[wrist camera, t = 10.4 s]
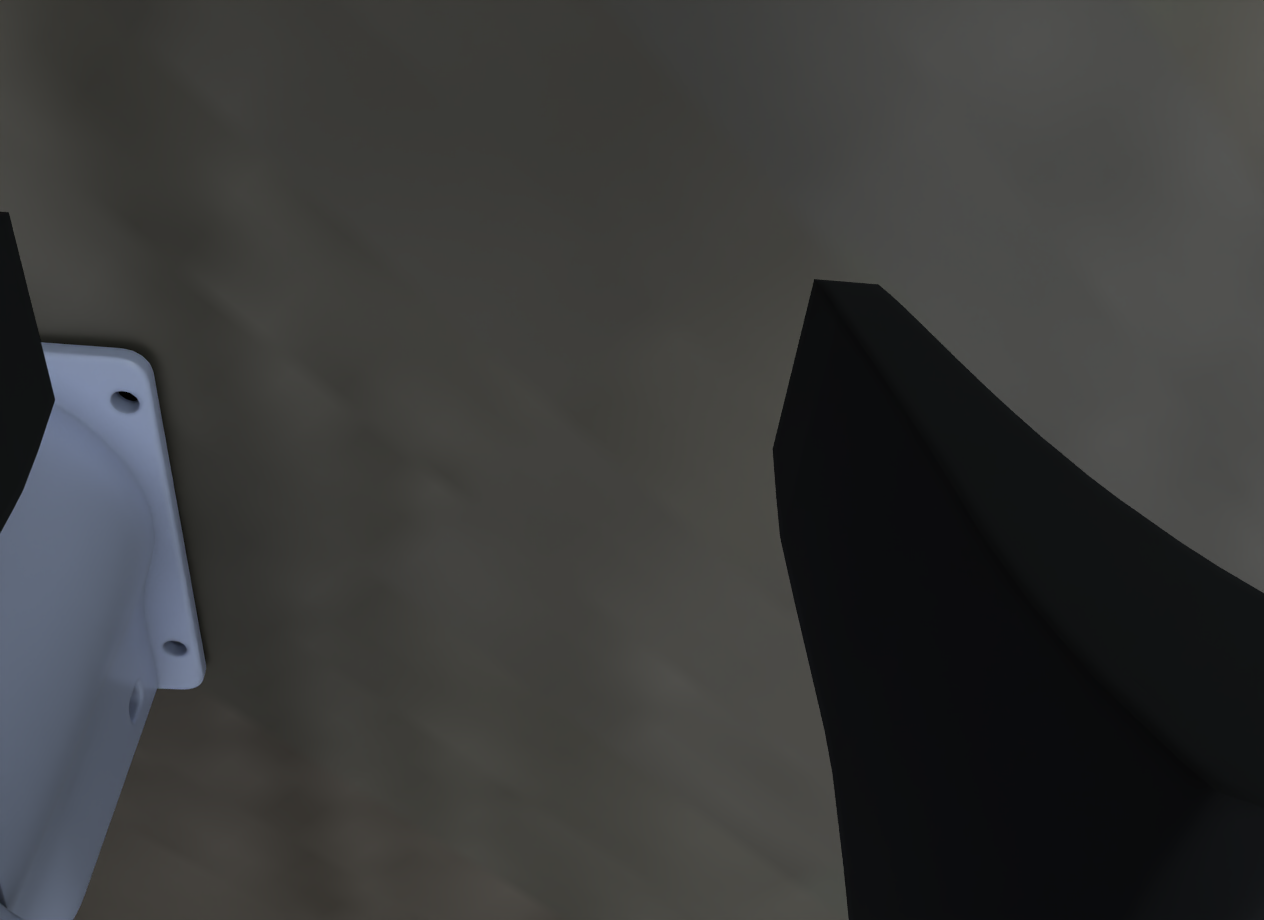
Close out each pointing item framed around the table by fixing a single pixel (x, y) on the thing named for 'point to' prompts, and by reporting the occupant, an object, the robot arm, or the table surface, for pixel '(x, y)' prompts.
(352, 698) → the table surface
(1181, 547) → the robot arm
